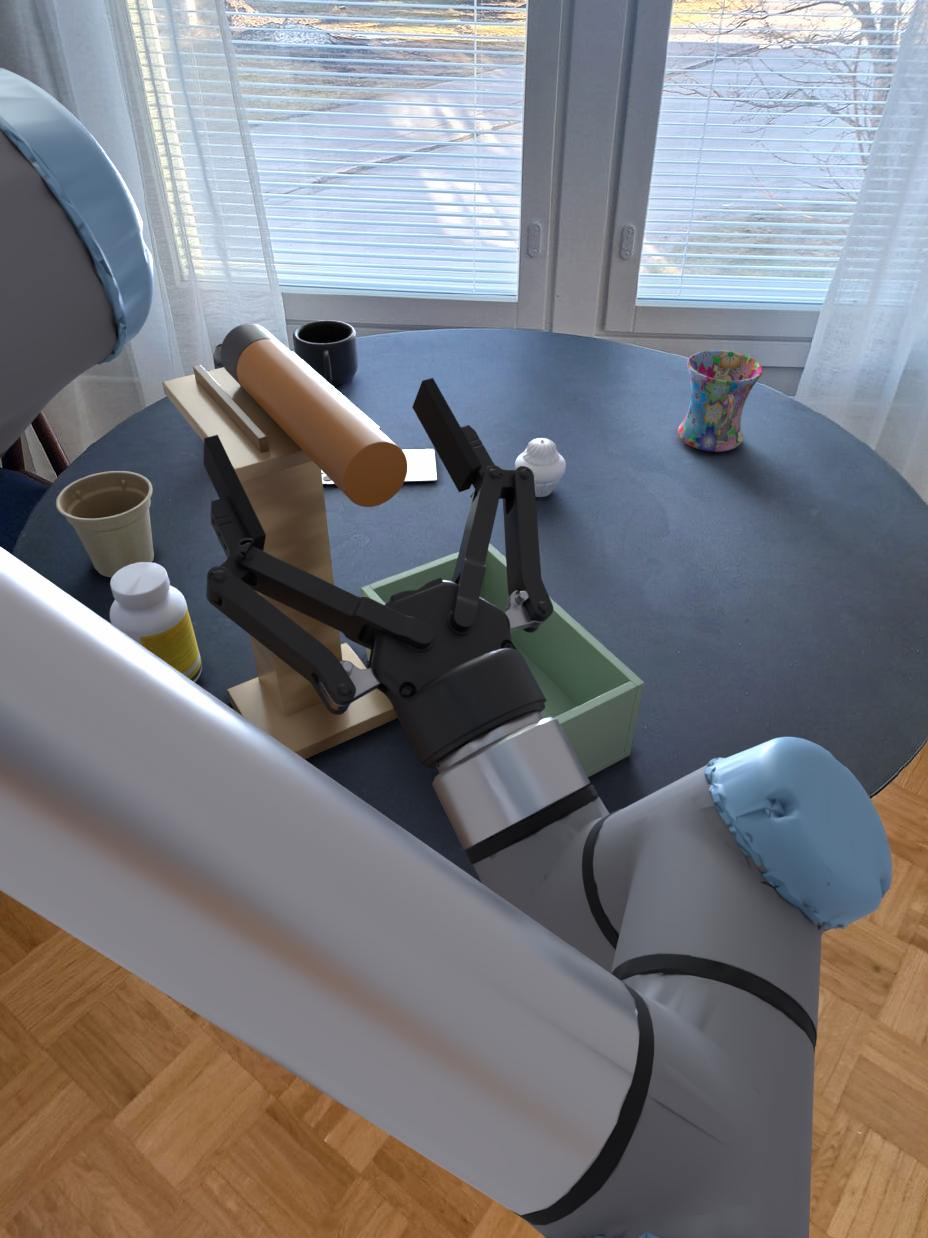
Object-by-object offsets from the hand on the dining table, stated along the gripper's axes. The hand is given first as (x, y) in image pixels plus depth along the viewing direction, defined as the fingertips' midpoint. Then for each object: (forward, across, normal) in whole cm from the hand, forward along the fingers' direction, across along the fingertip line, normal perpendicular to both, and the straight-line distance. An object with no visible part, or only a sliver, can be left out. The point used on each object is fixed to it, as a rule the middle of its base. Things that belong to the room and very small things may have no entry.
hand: (321, 419), depth 51 cm
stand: (-9, 0, -33) cm, 34 cm away
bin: (-15, +14, -29) cm, 36 cm away
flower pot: (+18, -8, -49) cm, 53 cm away
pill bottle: (+1, -10, -39) cm, 40 cm away
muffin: (+8, +39, -43) cm, 58 cm away
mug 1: (+42, +30, -63) cm, 82 cm away
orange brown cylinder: (+2, 0, -4) cm, 5 cm away
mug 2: (+5, +65, -41) cm, 77 cm away
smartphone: (+21, +24, -50) cm, 59 cm away
